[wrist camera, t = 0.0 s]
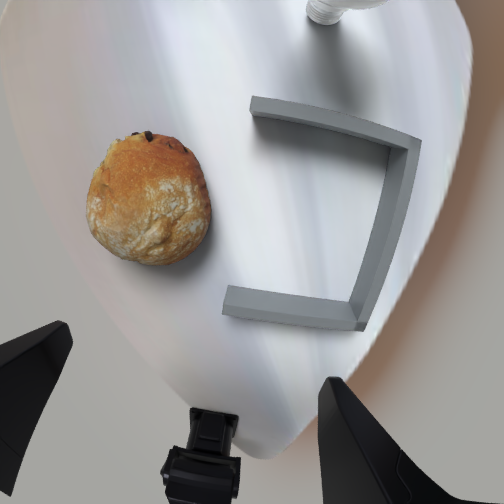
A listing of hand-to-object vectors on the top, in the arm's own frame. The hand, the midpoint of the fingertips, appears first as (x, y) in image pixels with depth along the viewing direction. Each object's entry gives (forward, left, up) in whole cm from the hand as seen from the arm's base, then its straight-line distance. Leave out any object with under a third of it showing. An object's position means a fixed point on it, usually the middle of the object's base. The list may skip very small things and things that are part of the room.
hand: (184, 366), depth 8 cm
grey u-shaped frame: (+2, -6, -15) cm, 16 cm away
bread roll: (+2, +7, -15) cm, 17 cm away
